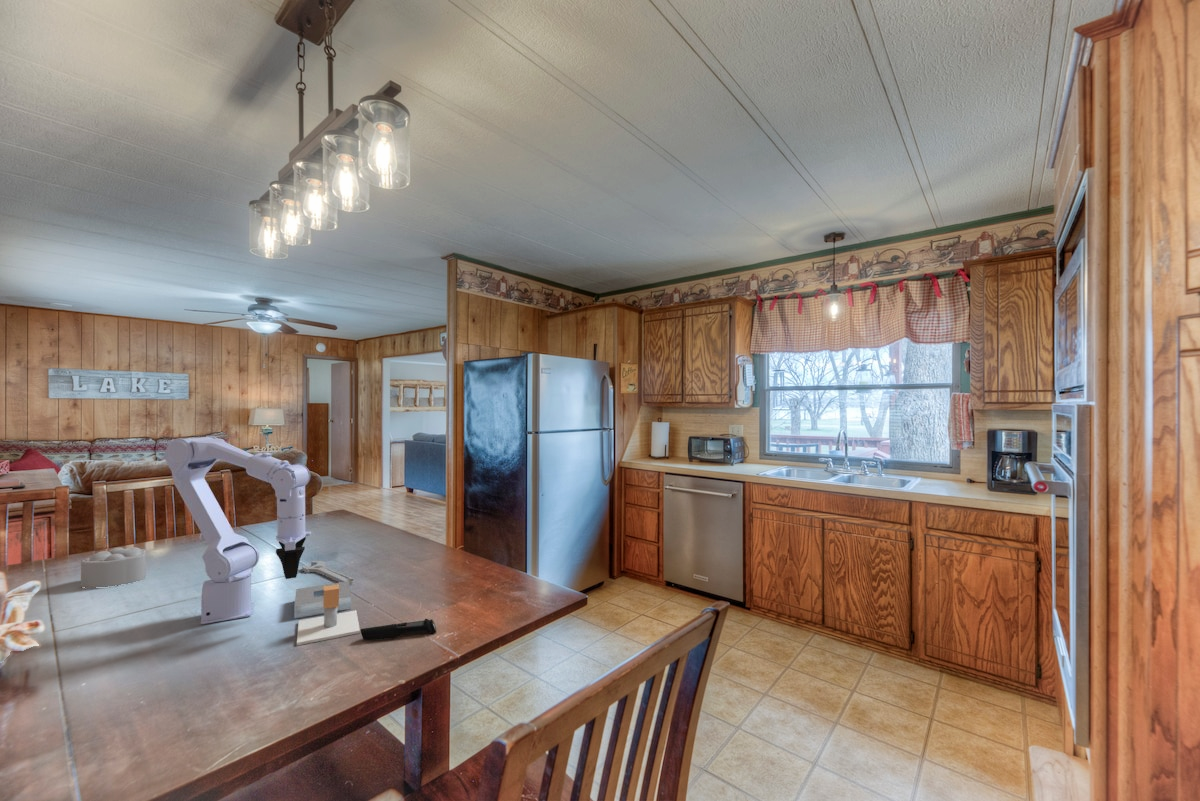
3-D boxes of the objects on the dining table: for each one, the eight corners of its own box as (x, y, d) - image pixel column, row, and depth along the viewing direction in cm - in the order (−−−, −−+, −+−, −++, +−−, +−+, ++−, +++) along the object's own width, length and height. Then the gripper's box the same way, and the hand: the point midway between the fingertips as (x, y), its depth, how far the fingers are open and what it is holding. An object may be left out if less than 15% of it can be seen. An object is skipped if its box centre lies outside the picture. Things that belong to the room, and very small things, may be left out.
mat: (296, 645, 105) (296, 642, 105) (298, 623, 115) (298, 620, 115) (359, 633, 111) (359, 630, 111) (356, 612, 121) (356, 610, 121)
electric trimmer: (361, 639, 109) (361, 624, 109) (436, 628, 114) (436, 614, 114) (359, 647, 106) (359, 632, 106) (436, 635, 111) (436, 621, 111)
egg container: (145, 581, 140) (145, 550, 140) (78, 593, 131) (78, 560, 131) (145, 571, 148) (145, 542, 148) (82, 582, 139) (83, 551, 139)
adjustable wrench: (357, 585, 140) (357, 579, 140) (333, 592, 135) (333, 585, 135) (320, 564, 156) (320, 559, 156) (298, 570, 151) (298, 564, 151)
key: (322, 629, 111) (323, 590, 111) (322, 623, 114) (323, 586, 114) (338, 626, 113) (339, 588, 113) (337, 621, 115) (338, 584, 115)
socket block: (294, 618, 117) (294, 606, 117) (296, 600, 128) (296, 589, 128) (351, 608, 123) (351, 596, 123) (348, 592, 134) (348, 581, 134)
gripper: (310, 520, 114) (310, 579, 114) (311, 508, 127) (311, 561, 127) (273, 524, 111) (274, 585, 111) (278, 511, 123) (278, 566, 123)
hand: (291, 573), depth 119 cm, fingers open, 7 cm apart
